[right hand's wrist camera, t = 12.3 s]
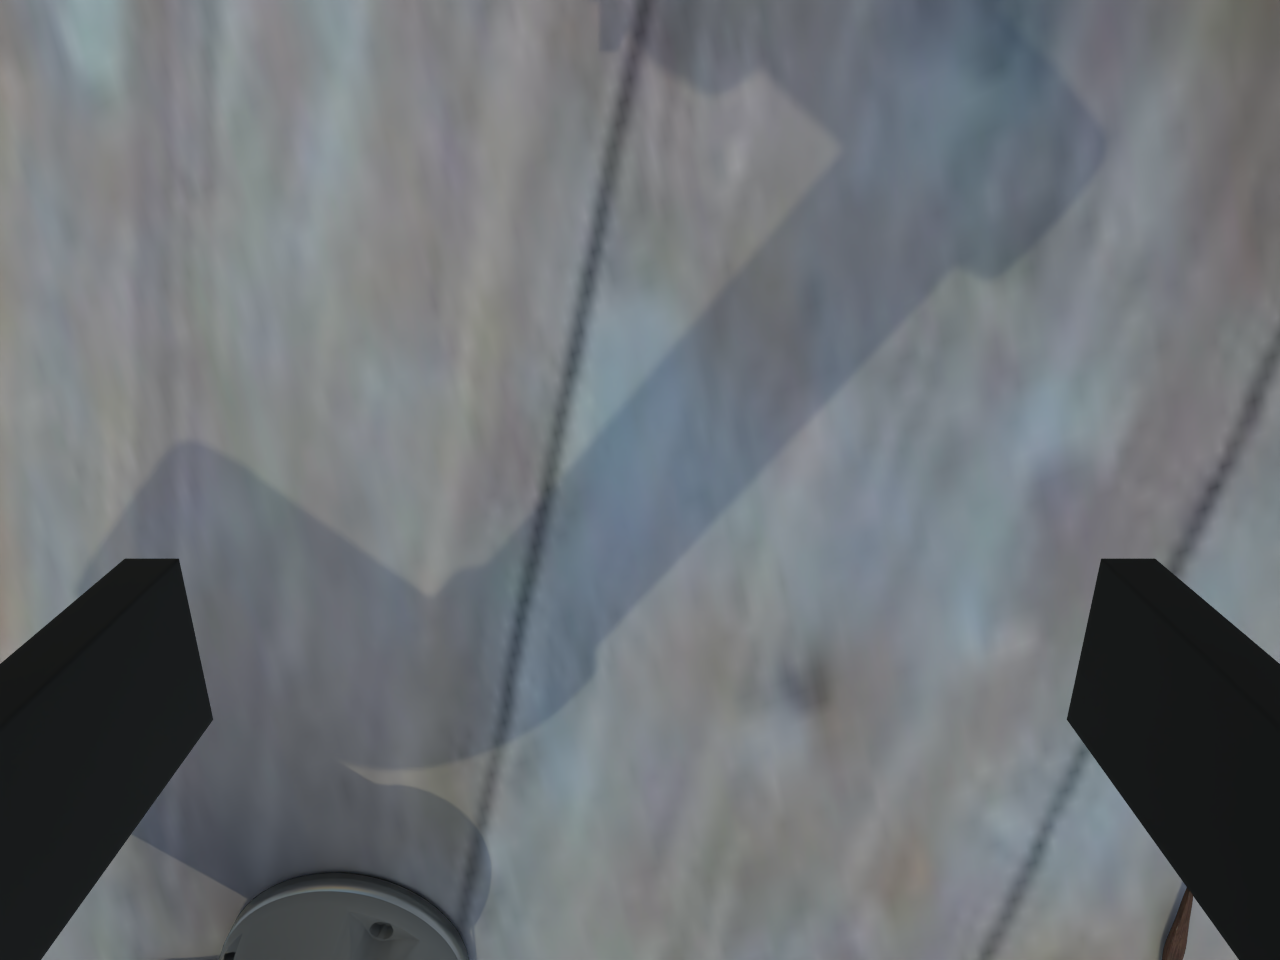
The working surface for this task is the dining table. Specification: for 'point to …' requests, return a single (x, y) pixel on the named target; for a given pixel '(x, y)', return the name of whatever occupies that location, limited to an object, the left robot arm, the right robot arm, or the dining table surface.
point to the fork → (1179, 930)
